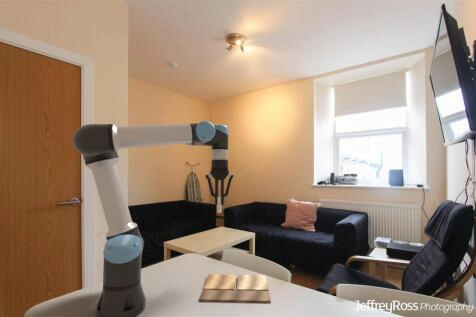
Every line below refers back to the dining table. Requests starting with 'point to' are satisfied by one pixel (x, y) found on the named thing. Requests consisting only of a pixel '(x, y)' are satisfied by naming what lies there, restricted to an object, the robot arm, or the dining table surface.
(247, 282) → the square wooden panel
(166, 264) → the dining table surface
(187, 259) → the dining table surface
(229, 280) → the striped wooden square slab
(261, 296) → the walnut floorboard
